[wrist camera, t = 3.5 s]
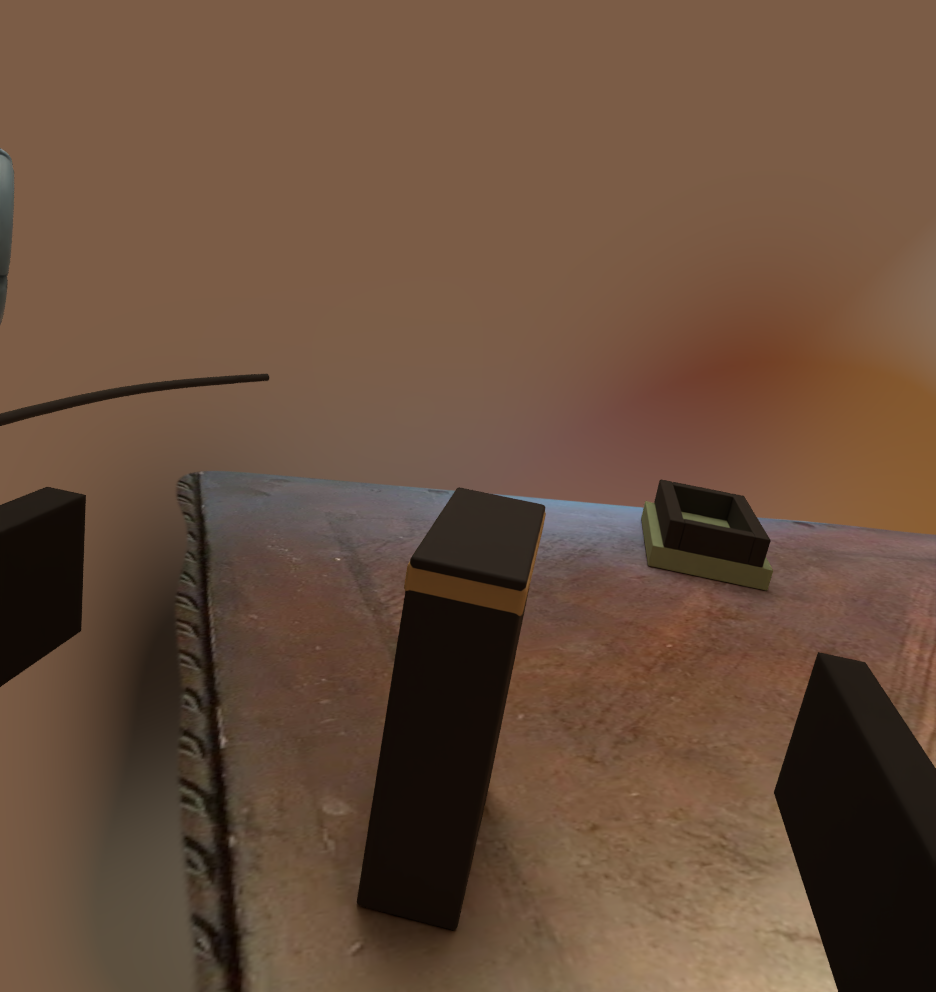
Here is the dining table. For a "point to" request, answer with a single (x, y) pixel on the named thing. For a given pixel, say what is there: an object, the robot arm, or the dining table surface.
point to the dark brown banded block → (447, 703)
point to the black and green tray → (706, 535)
